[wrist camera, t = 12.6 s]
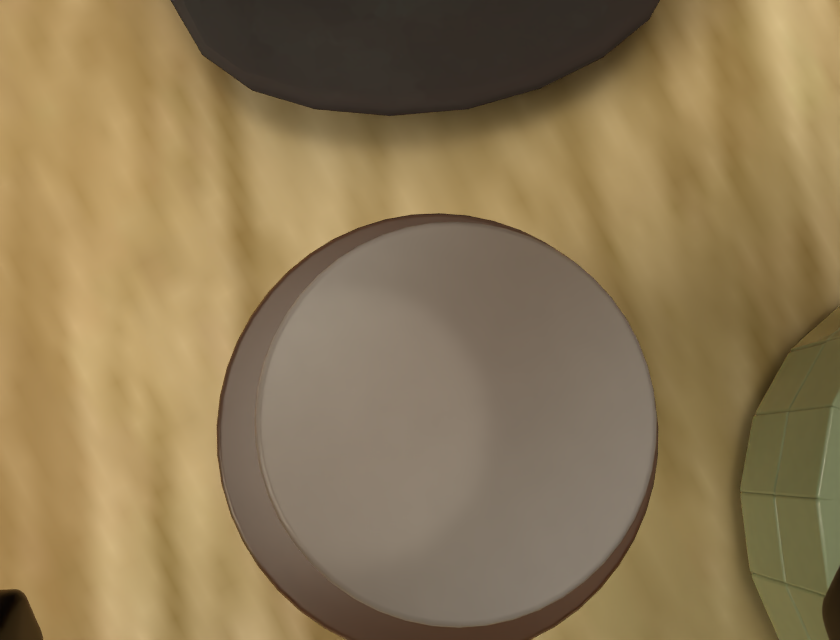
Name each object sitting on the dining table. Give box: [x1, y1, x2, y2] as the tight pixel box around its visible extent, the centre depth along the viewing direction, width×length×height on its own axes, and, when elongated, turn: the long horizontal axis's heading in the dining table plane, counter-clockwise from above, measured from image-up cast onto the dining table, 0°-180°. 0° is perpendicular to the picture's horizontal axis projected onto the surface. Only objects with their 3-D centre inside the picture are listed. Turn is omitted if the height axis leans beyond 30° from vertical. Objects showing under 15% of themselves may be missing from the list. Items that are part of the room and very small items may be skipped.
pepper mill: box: [217, 213, 658, 640], centre depth 13 cm, size 5×5×13 cm
